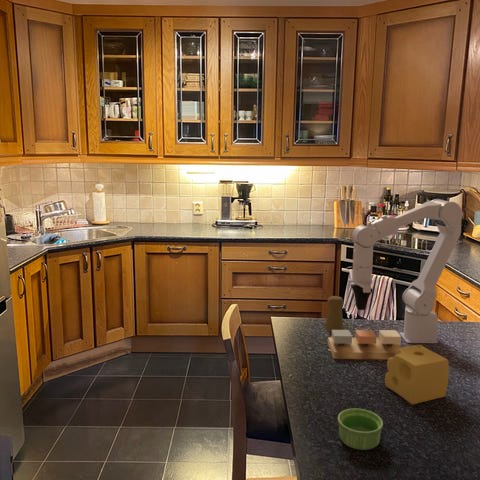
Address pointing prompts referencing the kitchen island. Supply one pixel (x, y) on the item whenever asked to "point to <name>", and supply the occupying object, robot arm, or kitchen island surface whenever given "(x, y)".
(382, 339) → the button cream
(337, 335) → the button slate
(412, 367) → the cheese
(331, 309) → the butternut squash
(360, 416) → the ramekin
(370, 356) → the button board
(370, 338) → the button terracotta
